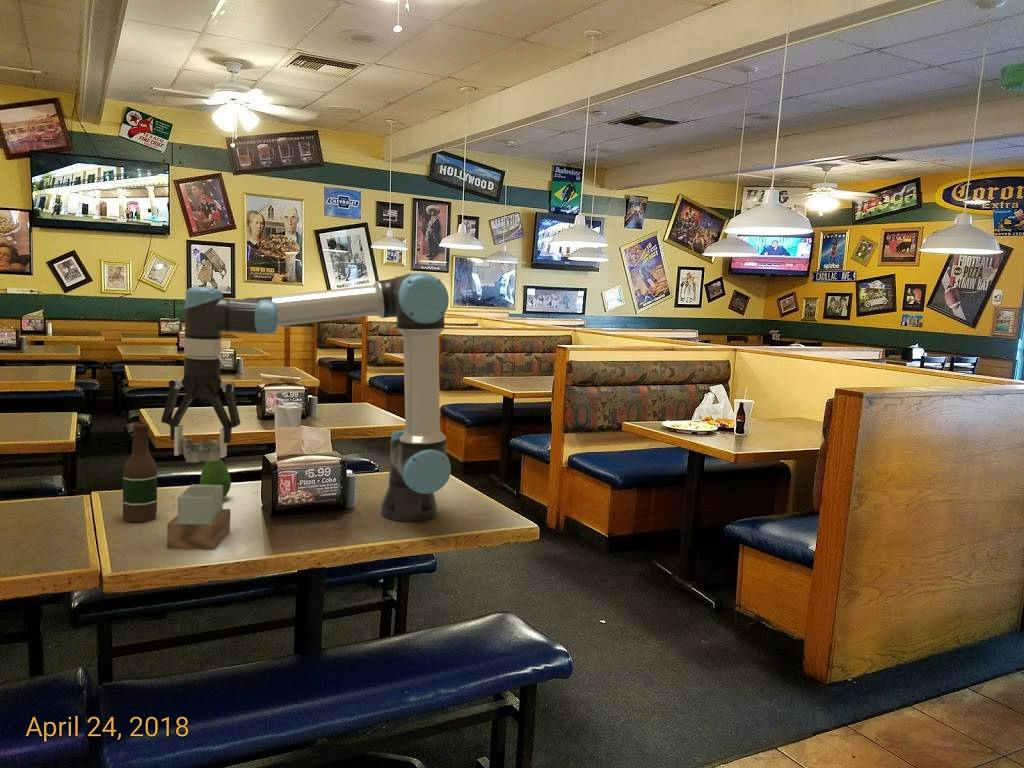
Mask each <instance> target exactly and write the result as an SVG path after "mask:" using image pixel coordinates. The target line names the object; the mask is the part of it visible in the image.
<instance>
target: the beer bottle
mask: <svg viewBox="0 0 1024 768" xmlns="http://www.w3.org/2000/svg"><path fill="white" fill-rule="evenodd" d="M149 427H150V425H149V423H148V422H145V421H137V422H134V423H133V425H132V429H133V431H132V432H133V433H132V447H131V448H132V449H131V453H130V457H129V458H127V459H128V460H126V463H125V465H124V468H123V473H122V517H123V521H124V522H126V523H131V524H138V523H139V524H140V523H147V522H151V521H154V520H155V519H156V518H157V512H158V511H157V510H158V466H157V464H156V461H155V459H154V458H153V456H152V455H151V454H150V447H149V445H150V444H149V430H148V429H149Z"/></svg>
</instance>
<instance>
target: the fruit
mask: <svg viewBox="0 0 1024 768" xmlns="http://www.w3.org/2000/svg"><path fill="white" fill-rule="evenodd" d="M199 485H223V499H224V498H225V497H226V496H227V495H228V494H229V492H230V489H231V486H232V479H231V476H230V472H229V470H228V468H227V465H226V464H225V461H223V459H222V458H219V460H215V461H204V464H203V466H202V471H201V475H200V478H199Z"/></svg>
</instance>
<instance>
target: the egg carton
mask: <svg viewBox="0 0 1024 768" xmlns="http://www.w3.org/2000/svg"><path fill="white" fill-rule="evenodd" d="M218 441H219V440H218V439H214V440H213V439H212V440H209V439H207V441H203V440H202V439H201V440H199V442H198V443H194V439H190V438H186V436H185V435H184V436H183V441H182V455H183V456H184V459H185V463H199V462H206V461H215V460H219V447H220V442H218Z"/></svg>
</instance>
